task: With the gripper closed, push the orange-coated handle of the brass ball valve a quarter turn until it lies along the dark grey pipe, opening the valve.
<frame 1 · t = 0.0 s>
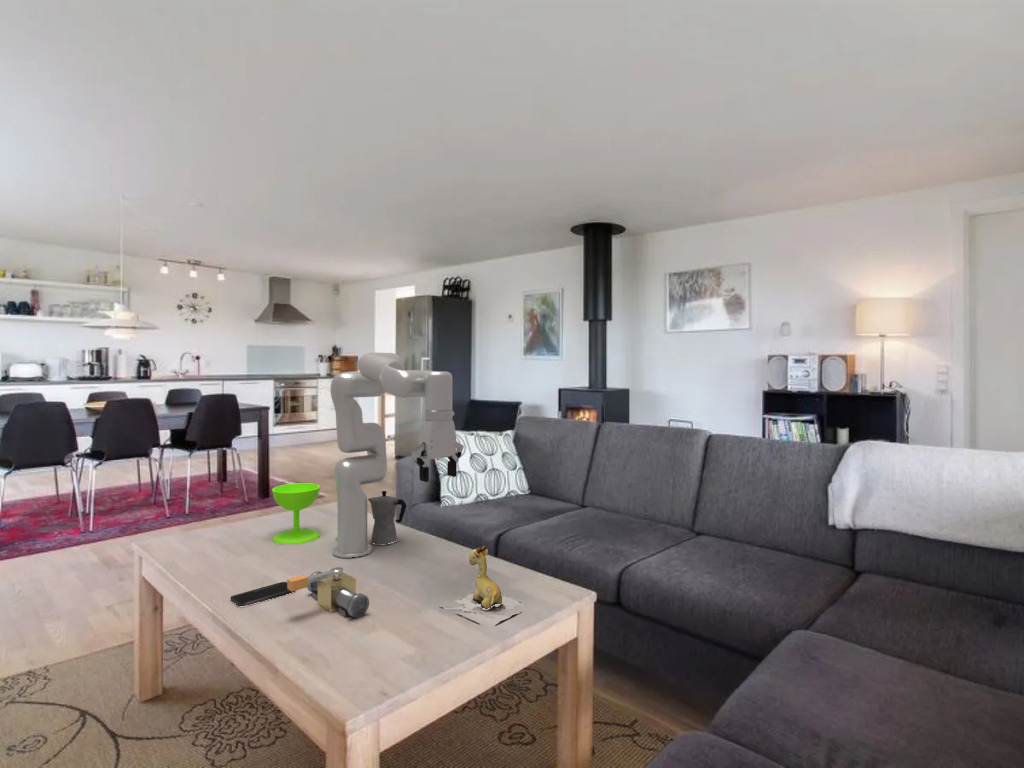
hand: (438, 478, 154), 31 cm above the table, tool pointing down, fingers open, 9 cm apart
valve pipe: (336, 604, 146), on the table
phone: (263, 597, 151), on the table
valve lever: (316, 577, 142), point 8 cm above the table, hinge at 0.0°
stuffed giraffe: (485, 609, 145), on the table
wineglass: (296, 538, 201), on the table
coffeepot: (386, 542, 197), on the table
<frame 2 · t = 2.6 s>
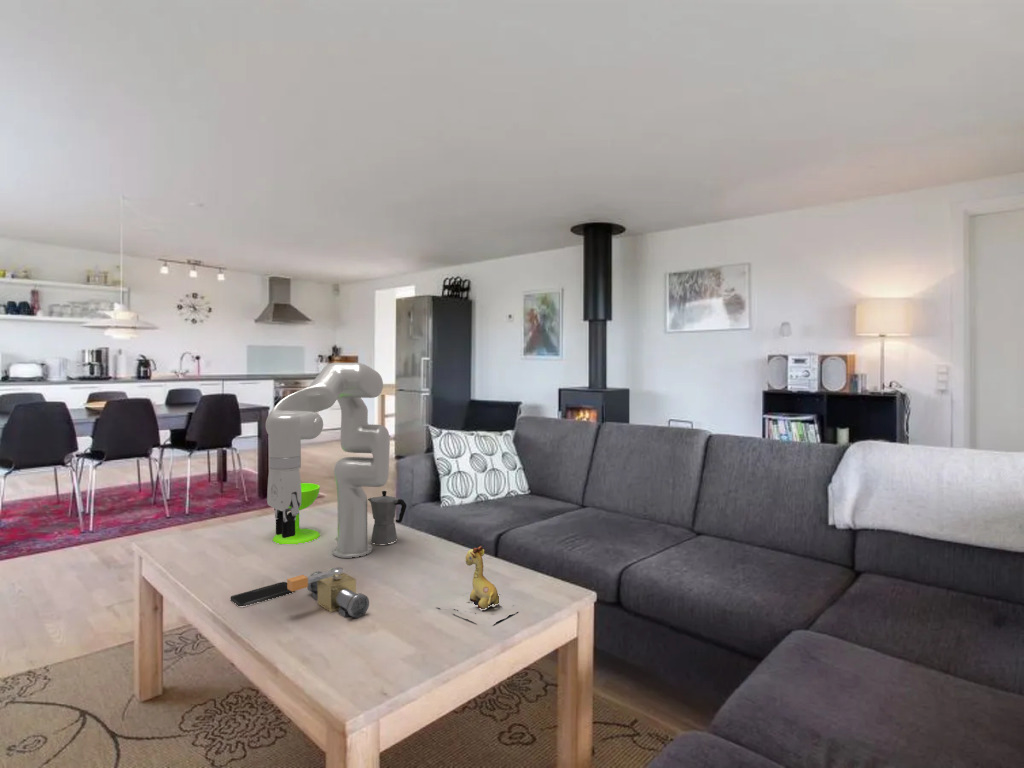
hand: (285, 534, 142), 19 cm above the table, tool pointing down, fingers closed
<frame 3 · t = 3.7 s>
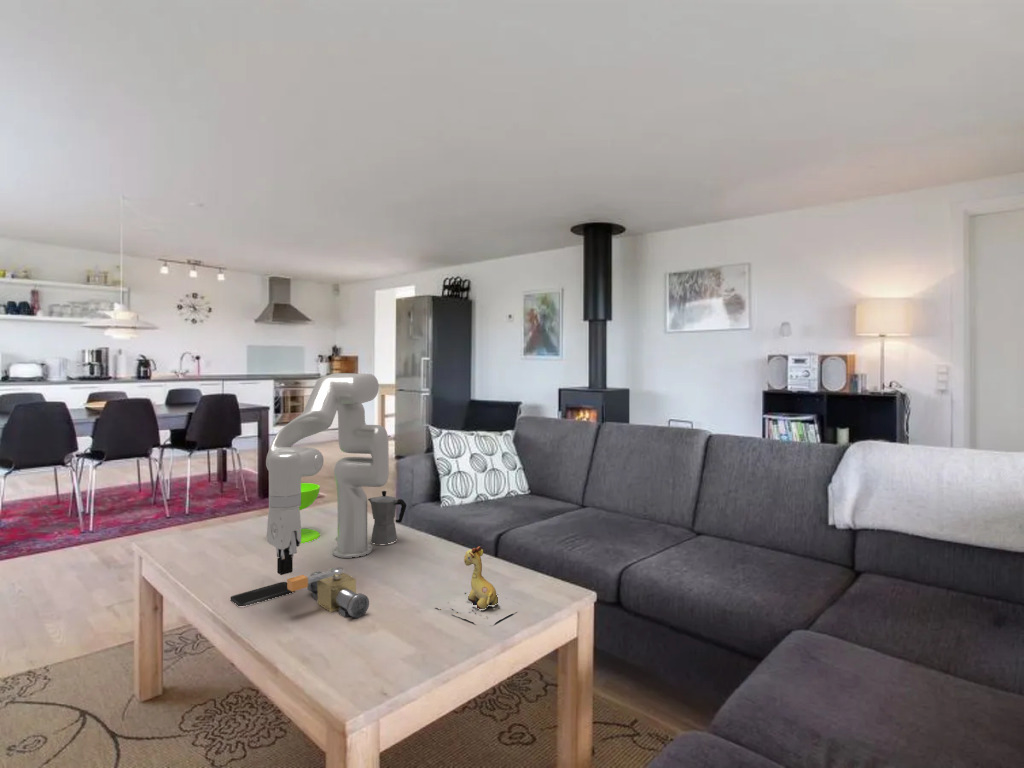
hand: (284, 572, 142), 9 cm above the table, tool pointing down, fingers closed
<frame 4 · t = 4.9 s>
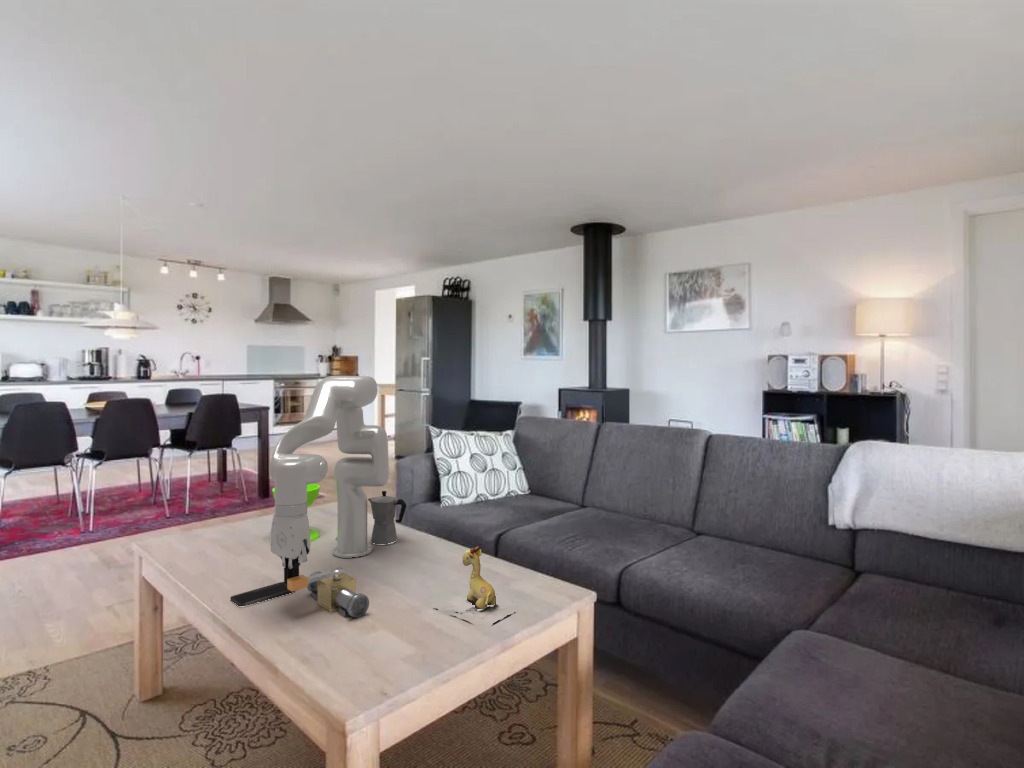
hand: (291, 582, 140), 8 cm above the table, tool pointing down, fingers closed
valve lever: (316, 577, 142), point 8 cm above the table, hinge at 0.1°, touching gripper
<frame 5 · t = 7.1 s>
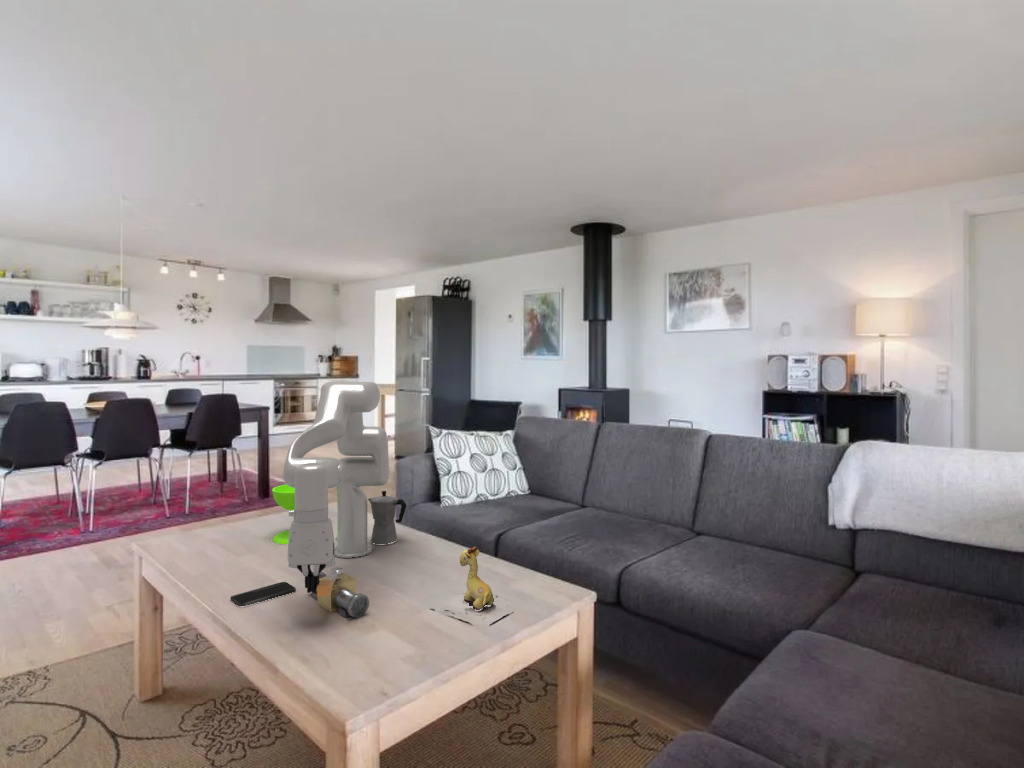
hand: (312, 590, 135), 8 cm above the table, tool pointing down, fingers closed
valve lever: (330, 579, 140), point 9 cm above the table, hinge at 46.3°, touching gripper
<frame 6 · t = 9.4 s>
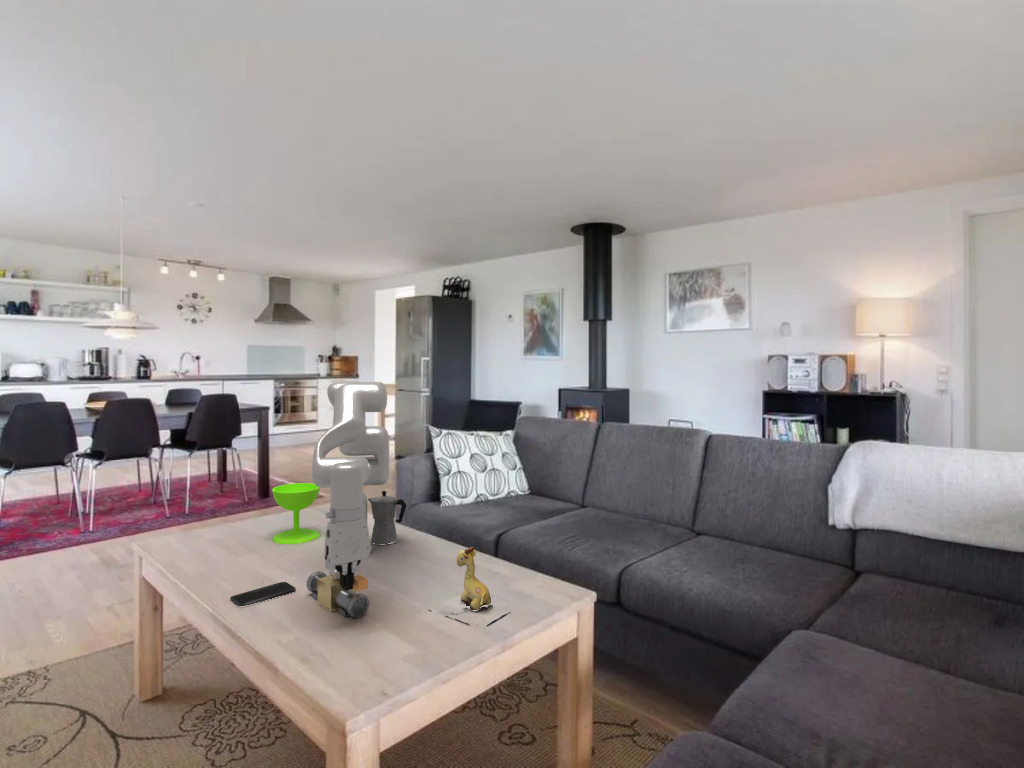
hand: (346, 588, 136), 8 cm above the table, tool pointing down, fingers closed
valve lever: (347, 577, 142), point 8 cm above the table, hinge at 90.7°, touching gripper
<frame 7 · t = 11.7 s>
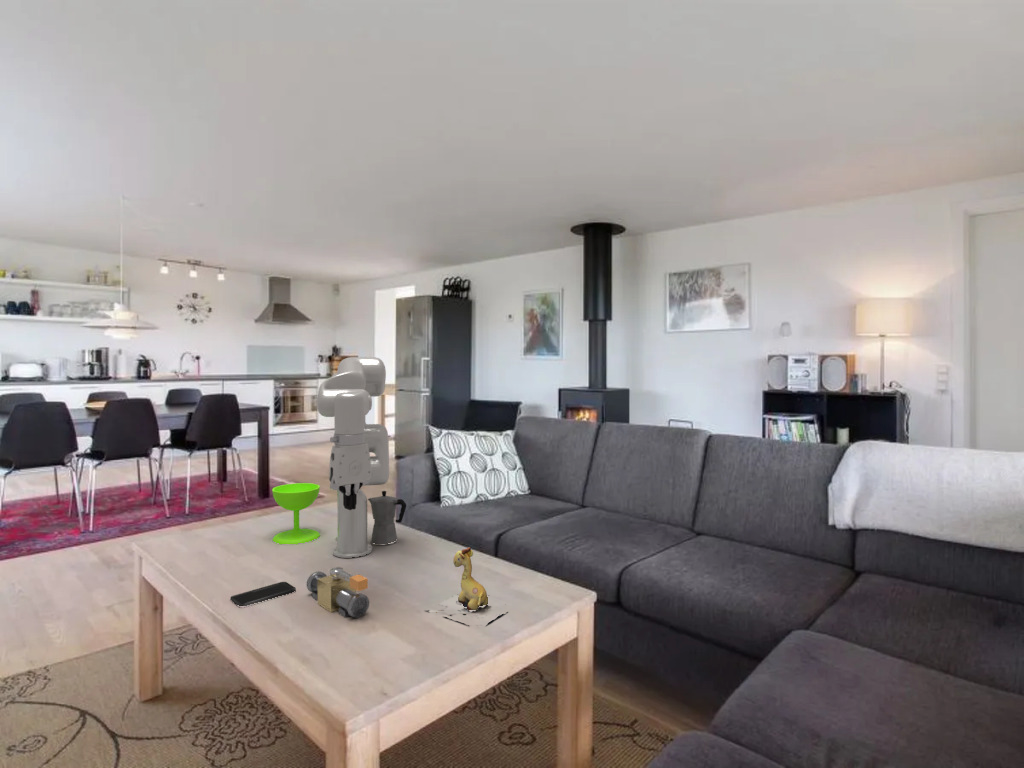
hand: (349, 508, 147), 25 cm above the table, tool pointing down, fingers closed
valve lever: (347, 577, 142), point 9 cm above the table, hinge at 90.8°
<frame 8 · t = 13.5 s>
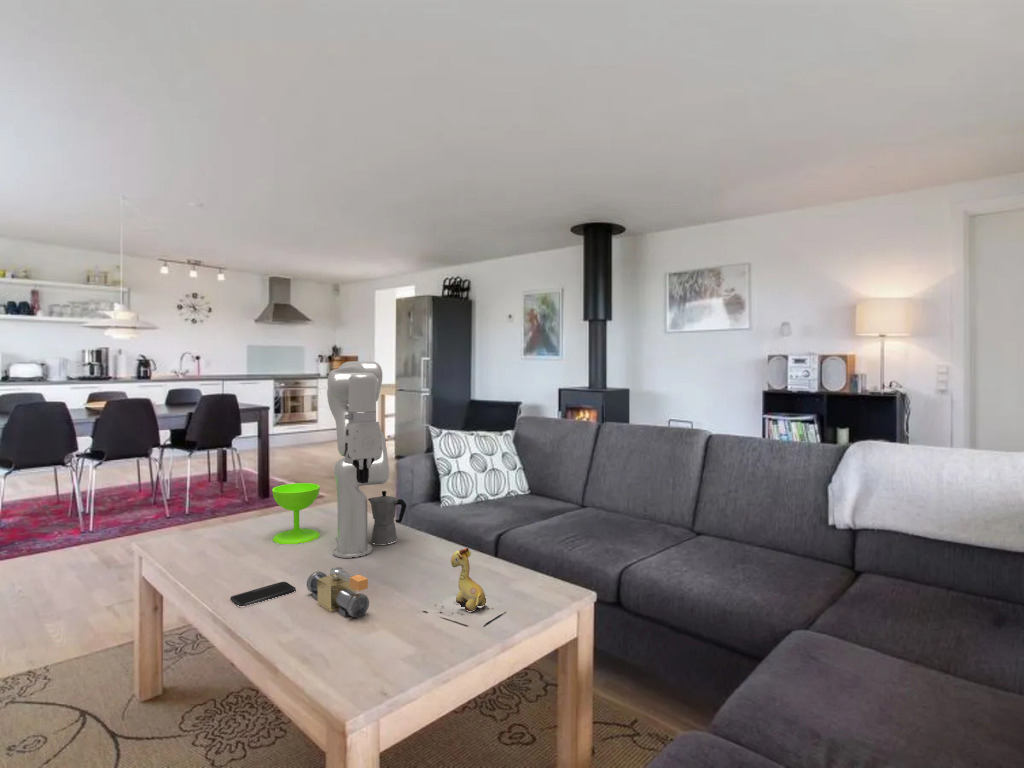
hand: (362, 482, 158), 29 cm above the table, tool pointing down, fingers closed
at the end: valve lever at +91° (first picture: +0°) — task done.
